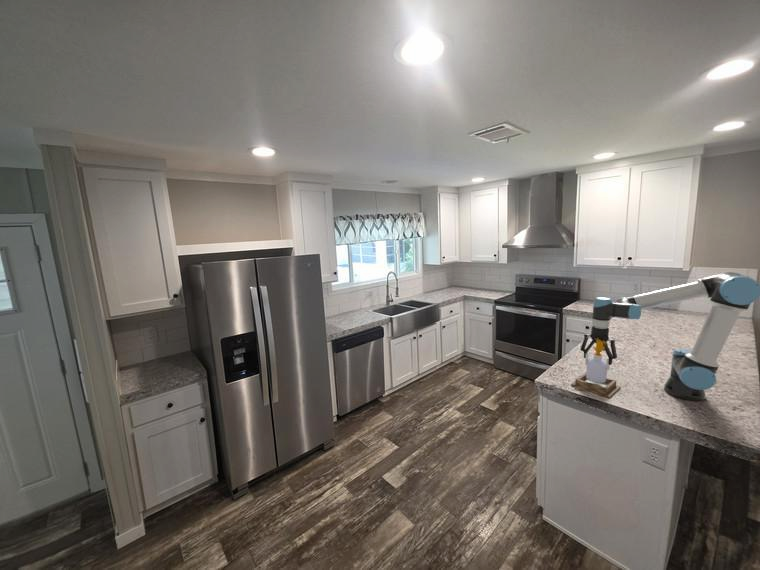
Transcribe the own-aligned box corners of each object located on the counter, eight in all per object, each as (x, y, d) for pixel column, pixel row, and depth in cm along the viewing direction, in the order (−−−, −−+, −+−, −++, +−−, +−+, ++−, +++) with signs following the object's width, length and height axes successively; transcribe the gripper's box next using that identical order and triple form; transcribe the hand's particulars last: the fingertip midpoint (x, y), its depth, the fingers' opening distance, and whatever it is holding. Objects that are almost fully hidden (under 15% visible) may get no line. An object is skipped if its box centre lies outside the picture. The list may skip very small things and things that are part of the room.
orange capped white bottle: (601, 376, 173) (605, 334, 169) (608, 384, 165) (613, 339, 161) (583, 375, 176) (586, 333, 172) (589, 382, 167) (593, 338, 163)
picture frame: (620, 388, 168) (621, 381, 168) (609, 398, 159) (610, 391, 158) (583, 376, 183) (583, 370, 182) (571, 385, 173) (571, 378, 173)
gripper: (628, 329, 159) (623, 371, 163) (580, 321, 176) (577, 358, 180) (622, 333, 154) (618, 375, 158) (574, 323, 172) (572, 362, 175)
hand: (596, 366), depth 169 cm, fingers closed on orange capped white bottle, 9 cm apart
